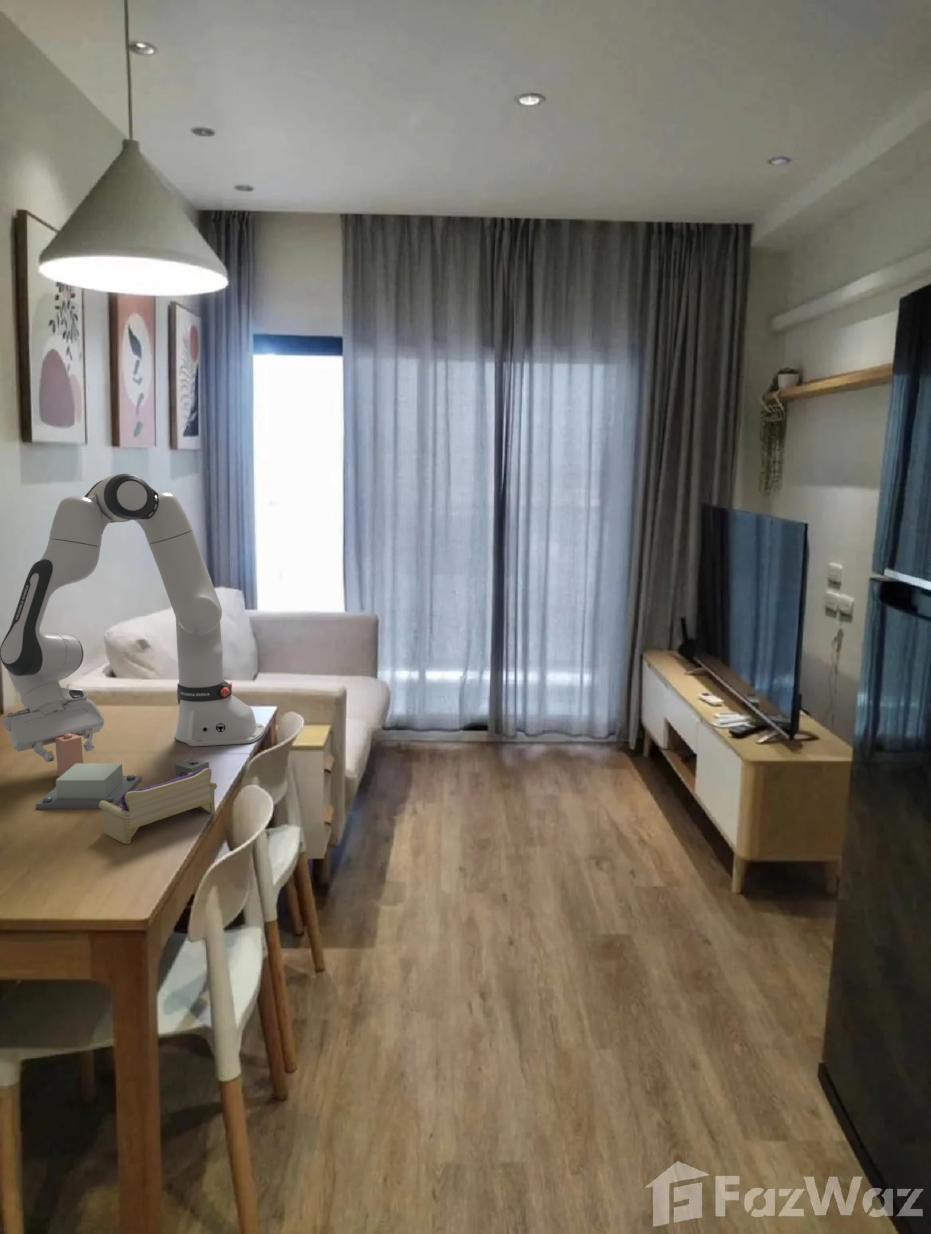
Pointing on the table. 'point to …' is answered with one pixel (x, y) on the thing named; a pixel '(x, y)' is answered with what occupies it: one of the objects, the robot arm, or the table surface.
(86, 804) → the tower base
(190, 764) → the dice cube
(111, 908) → the table surface
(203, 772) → the toy sofa
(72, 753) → the pillar brick
